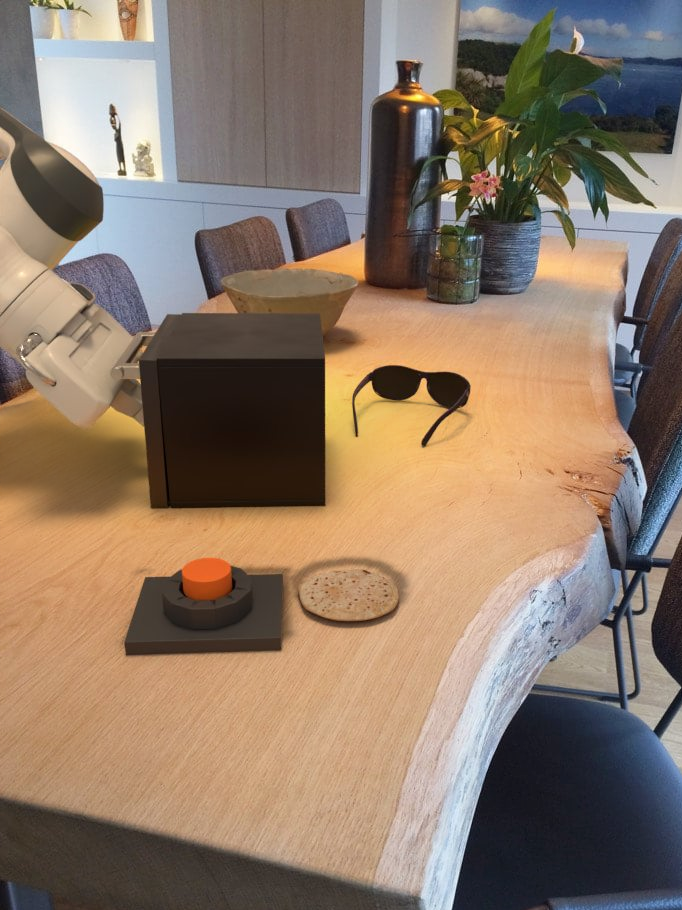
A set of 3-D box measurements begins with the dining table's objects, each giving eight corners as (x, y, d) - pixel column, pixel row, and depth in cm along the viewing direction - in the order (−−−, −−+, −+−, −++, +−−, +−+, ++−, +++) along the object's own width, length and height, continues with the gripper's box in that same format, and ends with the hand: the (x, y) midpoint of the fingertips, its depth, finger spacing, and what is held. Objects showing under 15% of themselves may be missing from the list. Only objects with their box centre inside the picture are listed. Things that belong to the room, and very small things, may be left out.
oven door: (117, 508, 80) (102, 359, 73) (148, 440, 96) (137, 313, 90) (167, 508, 80) (156, 360, 74) (189, 440, 96) (182, 314, 90)
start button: (180, 602, 60) (178, 582, 60) (186, 577, 64) (184, 557, 63) (230, 601, 61) (229, 581, 60) (233, 576, 64) (232, 556, 63)
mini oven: (170, 509, 80) (156, 358, 74) (191, 441, 96) (181, 312, 90) (325, 507, 81) (325, 358, 75) (320, 440, 98) (320, 313, 91)
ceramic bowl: (215, 358, 128) (211, 293, 124) (233, 323, 149) (230, 266, 144) (358, 360, 129) (359, 295, 125) (356, 325, 150) (357, 269, 145)
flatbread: (399, 577, 69) (400, 567, 69) (397, 629, 62) (398, 618, 62) (302, 573, 69) (302, 563, 69) (290, 624, 63) (289, 613, 62)
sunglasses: (472, 408, 109) (475, 372, 107) (448, 450, 96) (450, 409, 94) (374, 397, 113) (375, 361, 111) (336, 436, 99) (336, 396, 97)
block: (125, 656, 59) (121, 620, 57) (146, 589, 67) (142, 557, 66) (281, 651, 60) (280, 616, 58) (283, 586, 68) (282, 554, 67)
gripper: (33, 326, 71) (159, 434, 76) (87, 281, 89) (186, 370, 94) (-13, 376, 72) (114, 479, 77) (50, 322, 90) (149, 407, 95)
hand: (154, 419), depth 86 cm, fingers closed, pressing on oven door
